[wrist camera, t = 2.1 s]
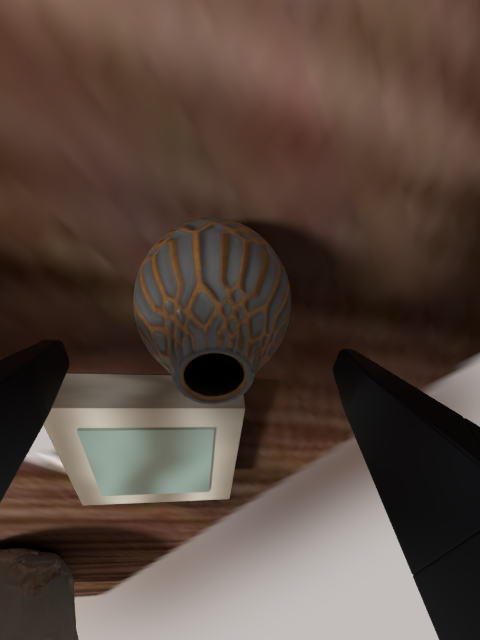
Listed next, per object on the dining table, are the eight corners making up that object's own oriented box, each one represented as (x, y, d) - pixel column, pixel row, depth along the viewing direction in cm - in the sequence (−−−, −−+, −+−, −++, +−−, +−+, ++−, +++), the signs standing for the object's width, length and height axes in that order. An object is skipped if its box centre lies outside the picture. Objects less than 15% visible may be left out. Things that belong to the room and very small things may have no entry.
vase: (294, 277, 15) (366, 383, 8) (209, 337, 17) (205, 468, 10) (222, 175, 12) (232, 196, 5) (128, 262, 14) (31, 373, 7)
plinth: (96, 470, 25) (81, 507, 22) (60, 373, 18) (33, 410, 15) (228, 466, 26) (229, 501, 24) (241, 376, 19) (245, 411, 17)
